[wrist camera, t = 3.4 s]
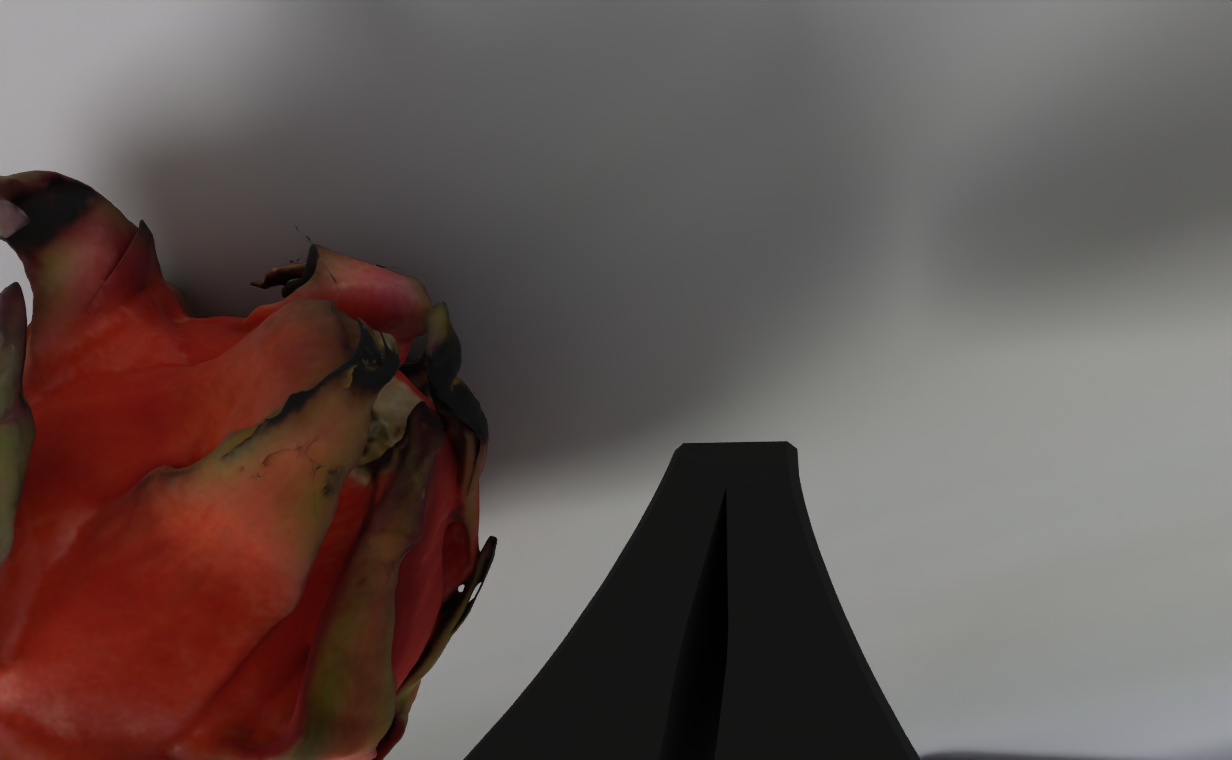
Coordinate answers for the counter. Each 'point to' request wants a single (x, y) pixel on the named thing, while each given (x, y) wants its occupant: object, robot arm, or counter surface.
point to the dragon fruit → (221, 500)
